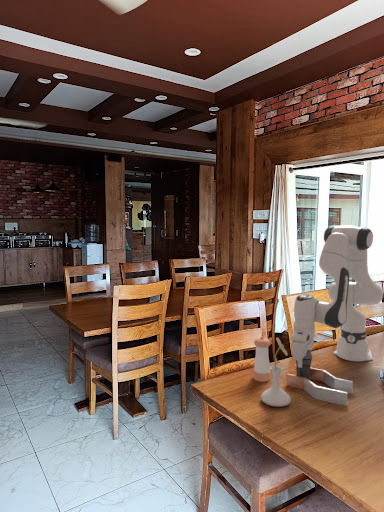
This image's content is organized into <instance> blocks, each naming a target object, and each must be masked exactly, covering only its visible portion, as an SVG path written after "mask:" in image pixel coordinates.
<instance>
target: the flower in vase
mask: <svg viewBox="0 0 384 512" xmlns="http://www.w3.org/2000/svg"><path fill="white" fill-rule="evenodd" d="M275 340H276V342H277V344H278V349H277V350H276V352H275V355H273V357H274V365H272V366H269V370H270V372H271V373H272V385H271V387H269V388H268V389H266V390H265V391H263V392H262V393H261V395H260V399H261V401H262V402H263V403H264V404H266V405H268V406H271V407H276V408H277V407H278V408H279V407H286V406H288V405H289V404H290V403H291V402H292V398H291V397H290V395H289V394H288V393H287V392H286V391H285V390H283V389H282V388H281V387H280V375H281V373H282V371H283V370H284V368H283V367H281V366H278V365H277V364H280V363H281V362H280V361H278V359H277V354H278V353H279V350H281V351H282V352H283V353H284V355H285V356H288V355H289V354H288V351H287V350H286V349H285V345H284V344H282V342H281V340H280V338H279V337H276V338H275Z"/></svg>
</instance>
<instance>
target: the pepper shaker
mask: <svg viewBox="0 0 384 512" xmlns="http://www.w3.org/2000/svg"><path fill="white" fill-rule="evenodd" d="M253 343H254V346H255V358H254V362H253V363H254V364H253V365H254V366H253V367H254V369H253V380H255V381H256V382H269V381H270V379H271V370H270V359H269V347H270V346H271V342H270V339H268V338H267V337H264V336H260V337H257V338H255V340H254V342H253Z"/></svg>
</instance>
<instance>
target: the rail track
mask: <svg viewBox="0 0 384 512" xmlns="http://www.w3.org/2000/svg"><path fill="white" fill-rule="evenodd" d="M311 380H313V381H317V382H322V383H324V384H325V385H326V386H328V387H324V386H319V385H317V384H315V383H314V382H312V381H311ZM286 386H287V387H291V388H296V389H301V390H303V391H305V392H306V393H308V394H309V396H311V397H312V398H314V399H316V400H320V401H323V402H328V403H332V404H335V405H340V406H345V407H347V406H348V394H350V395H353V393H354V392H353V390H354V389H353V388H354V381H353V380H348V379H343V378H339V377H336V376H334V375H333V374H331V373H330V372H328V371H327V370H325V369H321V368H320V369H319V368H314V367H311V366H310V375H309V379H307V378H306V377H302V376H297V367H296V364H295V365H294V374H292V373H287V374H286ZM329 387H330V388H329Z"/></svg>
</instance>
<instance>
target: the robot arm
mask: <svg viewBox="0 0 384 512" xmlns="http://www.w3.org/2000/svg"><path fill="white" fill-rule="evenodd" d="M323 241H324V245H323V247H322V249H321V254H320V257H319V261H318V264H319V267H320V268H319V269H320V270H321V272H323V273H324V274H325V275H327V276H328V277H330V278H332V279H333V280H334V281H333V282H331V283H330V285H329V286H328V288H327V289H328V290H327V294H328V297H329V298H330V300H331V301H332V302H328V301H324V300H320V299H317V298H315V296H313V295H312V294H309V293H308V294H307V293H305V294H303V293H302V294H300V295H297V296H296V297H295V300H294V304H293V305H294V307H293V317H294V323H293V329H292V330H293V331H292V333H291V335H290V341H291V342H292V343H291V352H292V353H291V354H292V355H291V356H292V358H293V360H295V361H296V360H297V362H298V367H299V368H302V367H303V363H302V360H303V358H304V357H305V356H306V354H307V351H308V349H309V350H310V351H311V350H312V349H313V348H314V343H315V341H314V339H315V337H316V336H315V335H316V325H315V323H318V324H321V325H326V326H328V327H330V328H333V329H337V328H340V327H341V329H340V337H339V338H338V339H337V344H336V349H335V350H334V351H333V352H332V353H333V355H335V356H337V357H338V358H340V359H343V360H346V361H350V362H365V361H373V353H372V351H371V349H369V342H368V340H367V331H366V319H367V317H366V316H365V314H364V313H363V312H361V311H360V310H359V309H357V308H355V306H354V305H367V306H371V305H373V306H374V305H379V304H380V303H381V301H383V298H384V291H383V289H382V287H381V286H380V285H379V284H377V283H376V282H375V281H374V280H373V279H372V277H371V276H370V274H369V270H368V249H370V248H371V246H372V244H373V243H374V242H373V241H374V234H373V231H372V229H370V228H367V227H363V226H362V227H361V226H355V225H334V224H333V225H329V226H327V228H326V229H325V230H324V232H323ZM350 278H351V279H353V280H354V281H350Z"/></svg>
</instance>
